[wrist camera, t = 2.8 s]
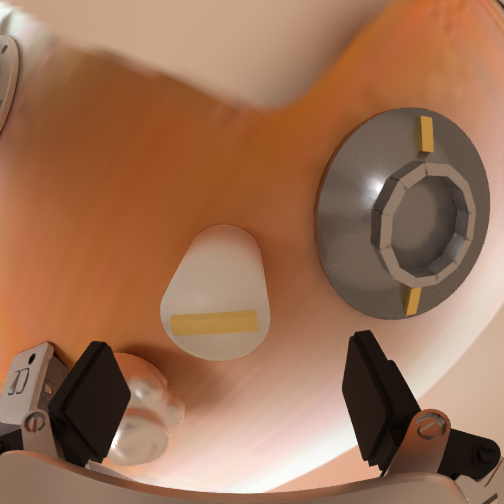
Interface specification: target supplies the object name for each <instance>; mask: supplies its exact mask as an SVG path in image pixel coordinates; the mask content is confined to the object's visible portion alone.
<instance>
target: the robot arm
mask: <svg viewBox="0 0 504 504" xmlns="http://www.w3.org/2000/svg"><path fill="white" fill-rule="evenodd" d="M18 66H19V56H18V48H17V46H16V43H15V41H14V40H13V39H12V38H11V37H8V36H6V35H1V34H0V131H1V129H2V127H3V125H4V123H5V120H6V117H7V115H8V112H9V109H10V106H11V103H12V99H13V96H14V92H15V87H16V83H17V76H18ZM342 392H343V396H344V399H345V402H346V405H347V409H348V412H349V415H350V418H351V422H352V425H353V428H354V431H355V435H356V438H357V442H358V445H359V448H360V451H361V455H362V458H363V460H364V461H367V460H368V463H369V467H370V466H374V465H378V466H379V470H381V471H382V472H381V474H380V476H379V477H378V478H373V479H368V480H363V481H357V482H353V483H347V484H342V485H336V486H331V487H324V488H317V489H309V490H300V491H290V492H277V493H253V494H236V493H211V492H198V491H188V490H179V489H172V488H165V487H159V486H153V485H148V484H143V483H138V482H133V481H128V480H125V479H121V478H117V477H113V476H109V475H106V474H102V473H99V472H96V471H93V470H90V467H89V465H88V460H89V459H90V460H91V461H94V462H97V463H101V464H102V461H103V458H106V457H107V455H108V453H109V450H110V447H111V445H112V442H113V440H114V437H115V435H116V432H117V430H118V427H119V425H120V422H121V420H122V418H123V415H124V413H125V410H126V408H127V406H128V403H129V401H130V398H131V391H130V389H129V387H128V385H127V383H126V381H125V379H124V376H123V374H122V372H121V370H120V368H119V365H118V363H117V361H116V359H115V356H114V354H113V352H112V349H111V347H110V346H108V345H107V343H106V342H99V341H92V342H91V343H90V345H89V346H88V347H87V349H86V350H85V351H84V353H83V354H82V356H81V357H80V358H79V360H78V361H77V363H76V364H75V366H74V367H73V368H72V370H71V371H70V373H69V374H68V376H67V377H66V379H65V380H64V382H63V383H62V384H61V386H60V387H59V389H58V391H57V392H56V394H55V395H54V397H53V398H52V400H51V401H50V403H49V404H48V406H47V408H48V410H49V412H48V414H47V413H46V412H45V411H44V410H42V409H35V410H32V411H30V412H28V413H27V414H26V415H25V416H24V418H23V420H22V423H21V429H19V430H16V431H14V432H11V433H8V434H5V435H3V436H0V504H469V503H470V504H504V457H502V456H501V452H500V448H499V446H498V445H497V444H496V443H495V442H494V441H493V440H490V439H487V438H483V437H480V436H476V435H472V434H468V433H465V432H462V431H459V430H455V429H452V428H451V423H450V420H449V418H448V417H447V415H445V414H444V413H443V412H441V411H439V410H436V409H426V410H423V411H421V409H420V407H419V405H418V404H417V401H416V400H415V398H414V396H413V394H412V392H411V390H410V389H409V387H408V385H407V383H406V381H405V380H404V378H403V376H402V374H401V372H400V371H399V369H398V367H397V365H396V364H395V362H394V361H393V360H387V358H386V356H385V354H384V353H383V351H382V349H381V347H380V346H379V344H378V342H377V340H376V339H375V337H374V335H373V334H372V332H371V331H370V330H365V331H359V332H355V334H354V336H351V337H350V339H349V346H348V353H347V359H346V366H345V372H344V378H343V383H342ZM466 498H467V499H468V501H467V499H466Z"/></svg>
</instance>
